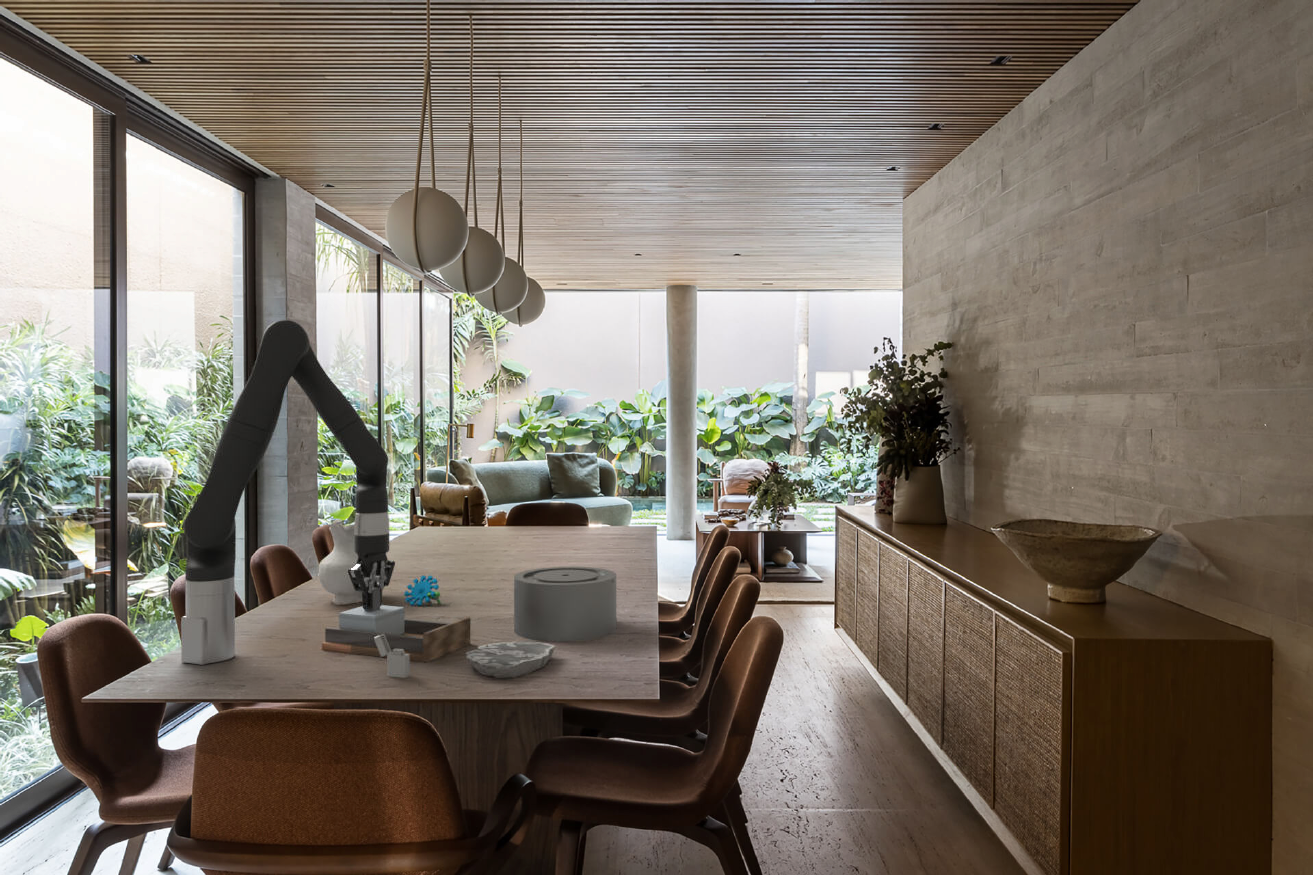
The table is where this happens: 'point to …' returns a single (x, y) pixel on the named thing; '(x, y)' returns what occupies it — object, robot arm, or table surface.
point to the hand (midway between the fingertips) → (372, 607)
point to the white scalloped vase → (340, 565)
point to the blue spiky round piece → (422, 591)
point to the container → (564, 603)
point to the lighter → (394, 658)
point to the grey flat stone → (510, 658)
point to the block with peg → (374, 618)
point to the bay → (404, 639)
